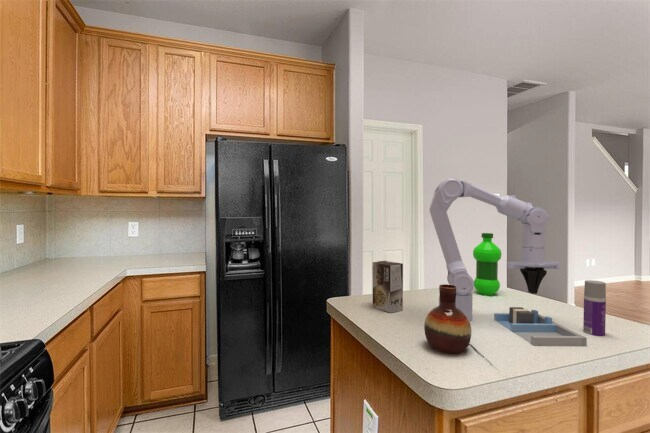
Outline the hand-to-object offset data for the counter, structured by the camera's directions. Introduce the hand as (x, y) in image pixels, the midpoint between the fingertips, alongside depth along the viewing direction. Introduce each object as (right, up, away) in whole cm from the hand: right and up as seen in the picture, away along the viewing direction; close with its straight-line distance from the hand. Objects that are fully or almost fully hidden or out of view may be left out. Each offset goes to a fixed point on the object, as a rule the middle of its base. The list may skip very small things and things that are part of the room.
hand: (532, 293), depth 100 cm
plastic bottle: (+5, -9, +39) cm, 41 cm away
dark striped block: (-5, -9, -3) cm, 11 cm away
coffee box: (-40, -10, +17) cm, 45 cm away
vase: (-31, -10, -16) cm, 36 cm away
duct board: (-4, -10, -7) cm, 13 cm away
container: (+12, -10, -8) cm, 18 cm away
